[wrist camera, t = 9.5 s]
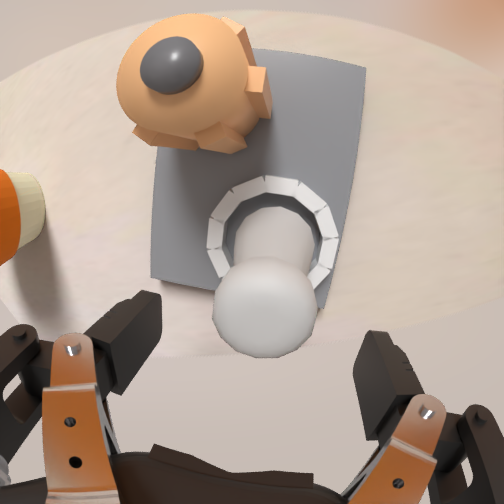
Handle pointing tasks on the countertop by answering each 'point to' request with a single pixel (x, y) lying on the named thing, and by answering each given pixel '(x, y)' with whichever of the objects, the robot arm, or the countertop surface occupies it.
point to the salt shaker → (268, 286)
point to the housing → (239, 142)
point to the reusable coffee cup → (19, 212)
